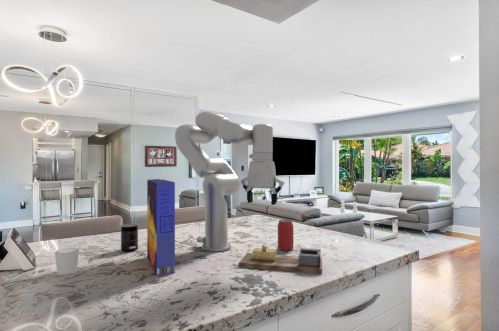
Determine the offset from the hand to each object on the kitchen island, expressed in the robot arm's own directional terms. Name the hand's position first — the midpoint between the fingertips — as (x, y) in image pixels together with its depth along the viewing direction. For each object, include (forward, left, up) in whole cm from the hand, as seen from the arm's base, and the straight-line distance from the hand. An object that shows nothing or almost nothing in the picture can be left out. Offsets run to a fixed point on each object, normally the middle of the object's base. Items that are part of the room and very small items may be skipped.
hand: (261, 203), depth 111 cm
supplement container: (-56, -1, -21) cm, 60 cm away
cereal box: (-34, -14, -21) cm, 43 cm away
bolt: (+2, -4, -19) cm, 20 cm away
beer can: (+7, +16, -21) cm, 27 cm away
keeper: (+18, -4, -20) cm, 27 cm away
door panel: (+8, -4, -21) cm, 23 cm away
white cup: (-60, -28, -21) cm, 70 cm away
